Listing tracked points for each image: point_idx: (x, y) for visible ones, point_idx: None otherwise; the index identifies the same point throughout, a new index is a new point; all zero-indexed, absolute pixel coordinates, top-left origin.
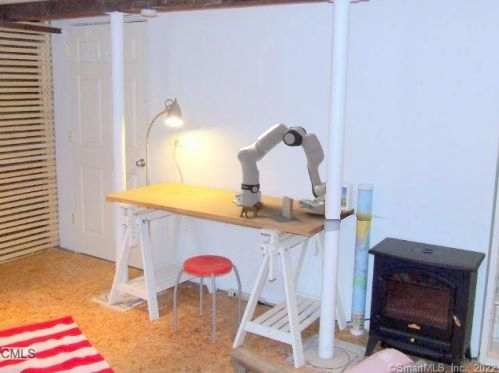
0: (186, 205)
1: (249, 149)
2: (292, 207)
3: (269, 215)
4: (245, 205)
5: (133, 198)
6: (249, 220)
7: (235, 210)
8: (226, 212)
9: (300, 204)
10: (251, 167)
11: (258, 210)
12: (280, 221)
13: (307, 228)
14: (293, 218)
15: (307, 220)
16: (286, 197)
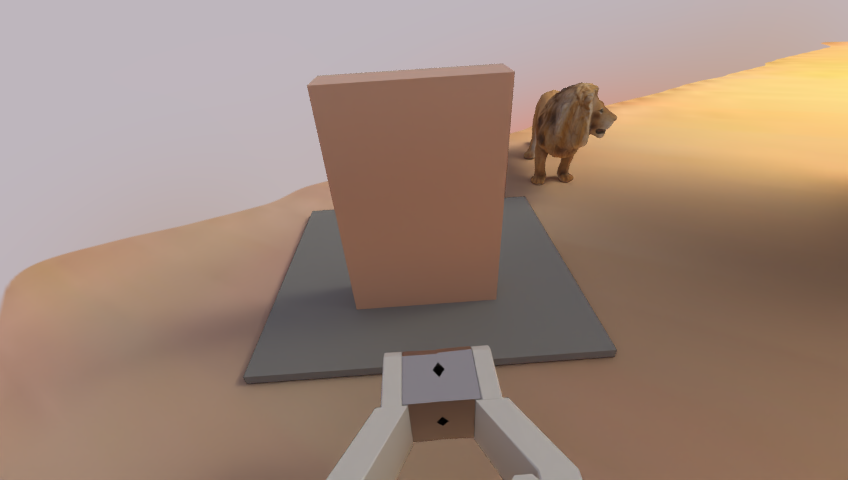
0: (775, 87)
1: None
2: (334, 199)
3: (535, 218)
4: None
5: (840, 51)
6: None
7: (714, 150)
8: (649, 129)
9: (487, 356)
10: None
11: (539, 144)
12: (336, 220)
13: (46, 299)
14: (359, 319)
15: (210, 446)
16: (440, 70)
